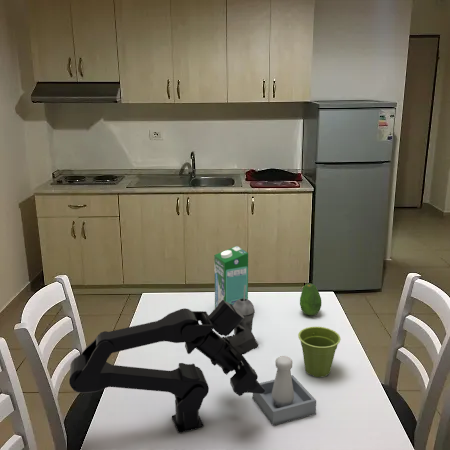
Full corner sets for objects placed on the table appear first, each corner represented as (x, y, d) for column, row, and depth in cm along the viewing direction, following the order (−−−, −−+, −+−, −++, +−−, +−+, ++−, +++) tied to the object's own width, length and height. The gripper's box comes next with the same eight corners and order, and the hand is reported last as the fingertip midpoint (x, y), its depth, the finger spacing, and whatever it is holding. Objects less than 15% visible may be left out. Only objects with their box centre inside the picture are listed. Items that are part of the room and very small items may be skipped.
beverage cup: (227, 346, 154) (227, 288, 148) (237, 336, 160) (238, 280, 155) (248, 351, 151) (249, 292, 145) (258, 341, 157) (258, 284, 151)
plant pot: (288, 366, 142) (290, 332, 139) (320, 356, 148) (322, 323, 145) (313, 387, 132) (315, 350, 129) (347, 375, 138) (349, 340, 135)
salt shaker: (287, 413, 120) (288, 367, 117) (267, 405, 124) (268, 360, 120) (297, 401, 125) (299, 357, 121) (278, 393, 128) (279, 350, 125)
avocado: (296, 310, 179) (298, 280, 175) (317, 309, 179) (319, 279, 176) (302, 320, 171) (303, 289, 168) (323, 319, 172) (325, 288, 168)
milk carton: (214, 313, 177) (214, 248, 170) (236, 308, 180) (236, 245, 174) (225, 323, 169) (224, 256, 162) (248, 318, 172) (248, 252, 166)
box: (315, 414, 121) (316, 400, 120) (273, 426, 117) (273, 411, 116) (292, 387, 132) (292, 375, 131) (252, 397, 128) (252, 384, 127)
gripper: (249, 342, 106) (294, 378, 112) (227, 306, 124) (267, 340, 129) (214, 378, 106) (261, 413, 112) (198, 338, 124) (239, 370, 129)
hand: (257, 381), depth 121 cm, fingers open, 9 cm apart
